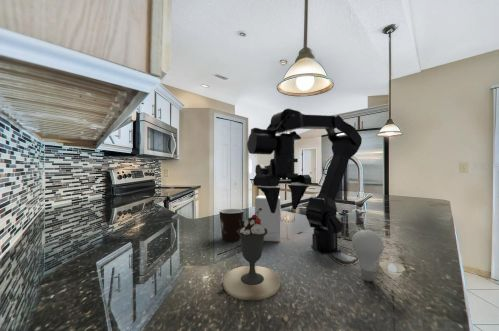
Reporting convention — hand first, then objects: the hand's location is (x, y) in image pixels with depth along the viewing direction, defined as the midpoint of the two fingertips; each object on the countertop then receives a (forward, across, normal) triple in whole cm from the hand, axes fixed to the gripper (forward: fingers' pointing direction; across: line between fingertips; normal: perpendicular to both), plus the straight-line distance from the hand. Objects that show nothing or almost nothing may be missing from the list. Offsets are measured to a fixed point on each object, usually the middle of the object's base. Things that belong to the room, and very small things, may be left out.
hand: (284, 210), depth 60 cm
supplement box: (+13, -10, -16) cm, 23 cm away
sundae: (+12, +16, +5) cm, 21 cm away
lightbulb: (+13, -4, +20) cm, 24 cm away
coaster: (+13, +16, +4) cm, 21 cm away
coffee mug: (+13, 0, -25) cm, 28 cm away
